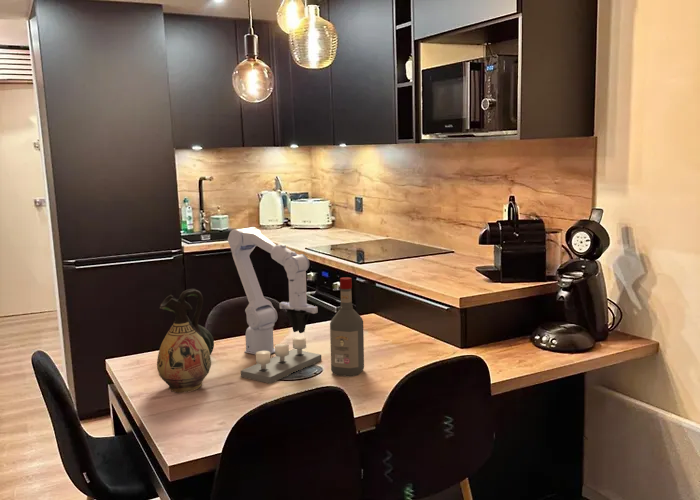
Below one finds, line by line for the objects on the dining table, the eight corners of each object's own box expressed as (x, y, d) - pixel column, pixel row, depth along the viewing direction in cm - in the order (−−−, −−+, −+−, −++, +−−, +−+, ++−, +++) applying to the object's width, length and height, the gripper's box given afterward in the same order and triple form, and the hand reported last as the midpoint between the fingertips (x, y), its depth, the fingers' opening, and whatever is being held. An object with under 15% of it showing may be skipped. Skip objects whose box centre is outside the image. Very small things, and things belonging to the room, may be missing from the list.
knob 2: (290, 353, 216) (289, 339, 216) (298, 350, 220) (298, 336, 219) (300, 355, 214) (300, 341, 213) (308, 352, 218) (308, 337, 217)
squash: (196, 335, 231) (174, 310, 220) (228, 342, 223) (207, 317, 213) (174, 369, 223) (150, 345, 213) (207, 378, 216) (184, 354, 205)
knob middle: (272, 361, 209) (271, 346, 208) (281, 357, 213) (280, 342, 212) (283, 363, 207) (282, 348, 206) (291, 359, 210) (291, 344, 210)
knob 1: (253, 369, 202) (252, 353, 201) (262, 365, 205) (262, 349, 205) (264, 371, 199) (263, 355, 199) (273, 367, 203) (273, 352, 202)
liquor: (356, 377, 200) (354, 281, 195) (328, 375, 203) (326, 280, 198) (366, 368, 208) (364, 276, 204) (339, 365, 211) (337, 275, 207)
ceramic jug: (162, 400, 184) (156, 297, 180) (155, 383, 198) (149, 287, 194) (222, 391, 191) (217, 290, 186) (211, 375, 205) (206, 281, 200)
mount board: (240, 376, 203) (240, 370, 202) (293, 354, 224) (293, 349, 224) (270, 383, 196) (269, 377, 196) (321, 360, 217) (321, 354, 217)
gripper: (272, 291, 215) (274, 331, 217) (307, 296, 207) (308, 337, 209) (286, 287, 221) (287, 326, 223) (320, 292, 212) (322, 332, 214)
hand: (298, 331), depth 216 cm, fingers closed
